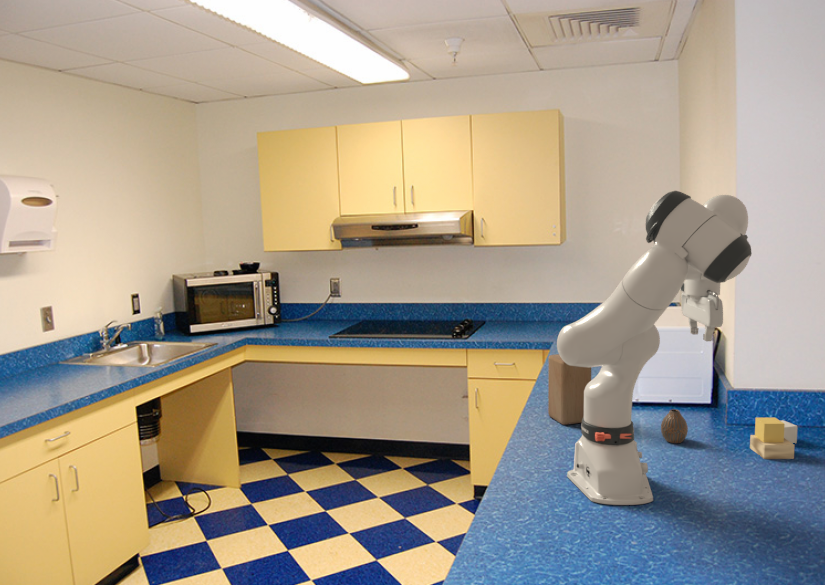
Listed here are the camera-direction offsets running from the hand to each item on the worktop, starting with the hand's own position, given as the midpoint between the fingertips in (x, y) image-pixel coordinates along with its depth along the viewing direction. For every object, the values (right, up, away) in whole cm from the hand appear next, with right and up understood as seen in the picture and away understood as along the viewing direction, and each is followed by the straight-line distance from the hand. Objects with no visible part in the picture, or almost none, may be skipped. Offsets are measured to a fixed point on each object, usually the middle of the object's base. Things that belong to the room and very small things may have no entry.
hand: (700, 337), depth 178 cm
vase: (-7, -29, 0) cm, 30 cm away
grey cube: (+22, -29, -2) cm, 36 cm away
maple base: (+14, -30, -10) cm, 35 cm away
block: (-32, -27, +21) cm, 47 cm away
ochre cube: (+13, -26, -10) cm, 31 cm away
